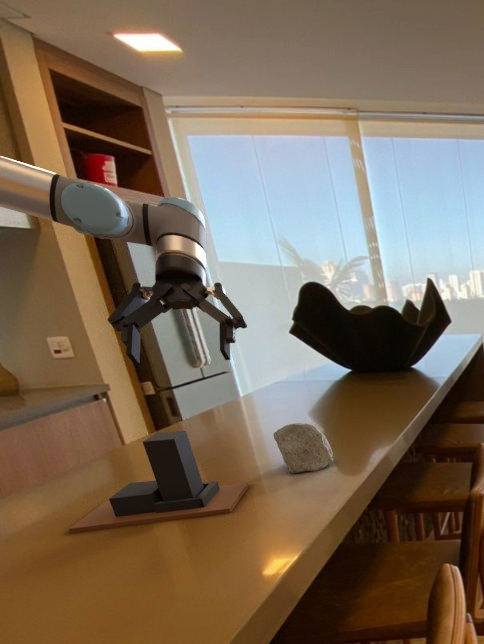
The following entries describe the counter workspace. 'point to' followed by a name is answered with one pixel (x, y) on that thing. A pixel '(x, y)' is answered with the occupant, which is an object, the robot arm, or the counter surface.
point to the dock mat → (159, 506)
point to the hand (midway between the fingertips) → (180, 357)
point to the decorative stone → (303, 447)
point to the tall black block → (174, 465)
